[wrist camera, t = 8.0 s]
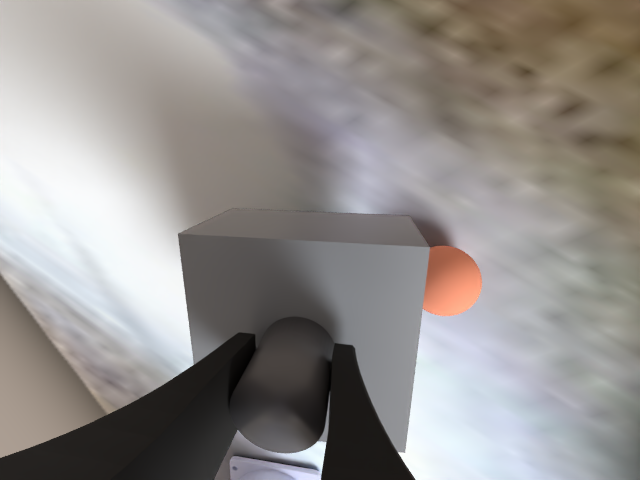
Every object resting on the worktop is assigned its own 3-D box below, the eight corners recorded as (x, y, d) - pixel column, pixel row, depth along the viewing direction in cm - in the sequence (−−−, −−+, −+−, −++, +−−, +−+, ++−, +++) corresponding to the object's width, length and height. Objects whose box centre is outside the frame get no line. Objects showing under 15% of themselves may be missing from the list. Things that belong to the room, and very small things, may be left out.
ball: (483, 335, 16) (404, 324, 17) (466, 298, 20) (402, 291, 21) (498, 265, 15) (413, 257, 16) (477, 239, 19) (409, 234, 19)
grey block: (394, 370, 17) (417, 544, 9) (242, 354, 18) (157, 499, 11) (409, 215, 14) (456, 288, 7) (232, 208, 16) (112, 264, 8)
